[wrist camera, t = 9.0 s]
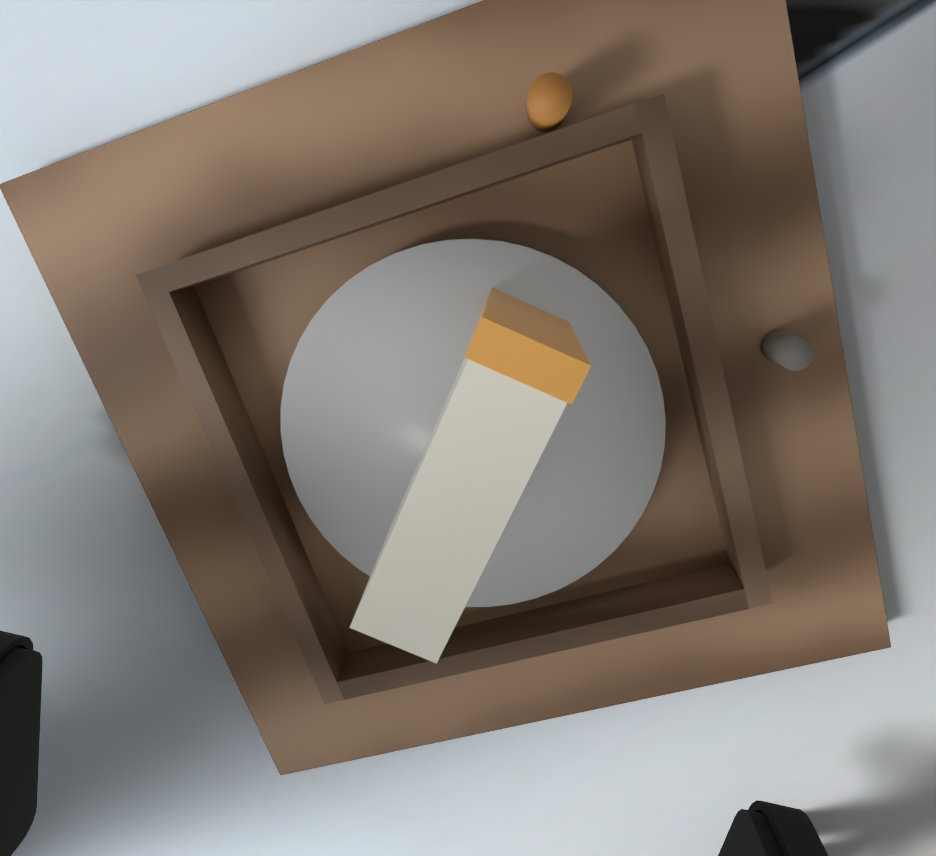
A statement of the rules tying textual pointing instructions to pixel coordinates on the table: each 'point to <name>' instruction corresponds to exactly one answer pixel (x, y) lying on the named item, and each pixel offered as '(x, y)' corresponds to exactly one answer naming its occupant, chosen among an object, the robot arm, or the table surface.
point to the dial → (469, 431)
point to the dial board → (516, 221)
